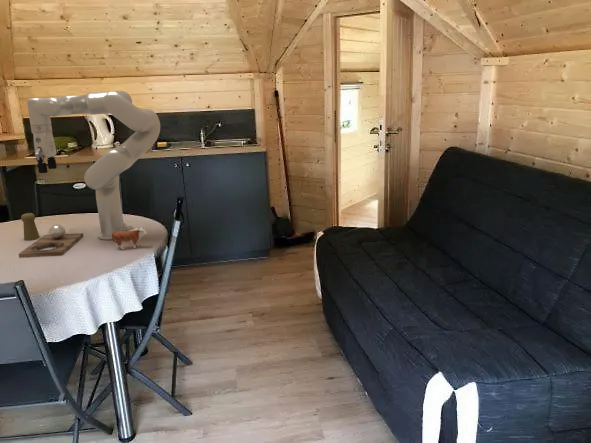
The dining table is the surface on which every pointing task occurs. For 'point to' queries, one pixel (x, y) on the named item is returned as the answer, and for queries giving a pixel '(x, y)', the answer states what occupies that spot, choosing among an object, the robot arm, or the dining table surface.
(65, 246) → the board
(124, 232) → the bull figurine
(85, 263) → the dining table surface
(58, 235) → the ball
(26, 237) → the cork
